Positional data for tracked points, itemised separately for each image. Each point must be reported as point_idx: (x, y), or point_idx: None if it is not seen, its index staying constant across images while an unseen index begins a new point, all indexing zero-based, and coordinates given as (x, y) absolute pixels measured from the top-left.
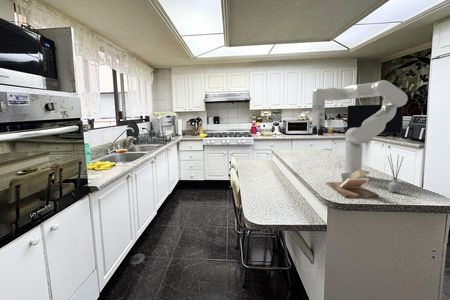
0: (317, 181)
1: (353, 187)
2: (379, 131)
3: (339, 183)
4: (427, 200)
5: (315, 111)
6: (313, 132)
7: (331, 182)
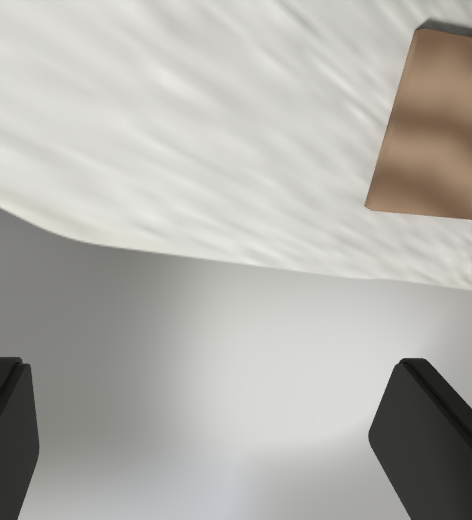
0: (289, 211)
1: None
2: None
3: (420, 141)
4: None
5: None
6: (18, 493)
7: (386, 176)
